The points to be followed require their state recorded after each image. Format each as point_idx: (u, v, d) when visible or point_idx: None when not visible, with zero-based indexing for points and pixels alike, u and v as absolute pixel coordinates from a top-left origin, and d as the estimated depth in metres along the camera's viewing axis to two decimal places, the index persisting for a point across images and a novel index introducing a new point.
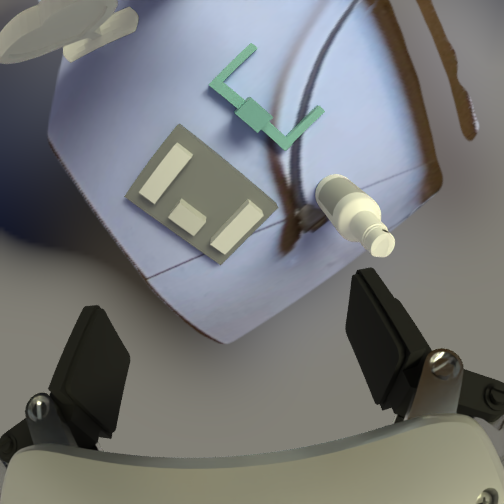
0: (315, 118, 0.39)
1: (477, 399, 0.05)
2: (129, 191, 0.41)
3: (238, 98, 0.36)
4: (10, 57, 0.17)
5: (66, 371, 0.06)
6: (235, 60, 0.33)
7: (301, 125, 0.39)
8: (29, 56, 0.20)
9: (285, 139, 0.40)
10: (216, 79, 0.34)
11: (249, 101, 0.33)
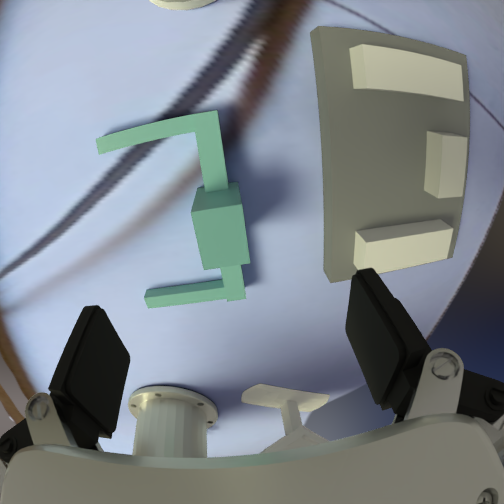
0: (119, 135, 0.17)
1: (477, 399, 0.05)
2: None
3: None
4: None
5: (67, 371, 0.06)
6: (185, 301, 0.24)
7: (152, 136, 0.17)
8: None
9: (199, 132, 0.17)
10: (230, 298, 0.24)
11: (211, 265, 0.18)
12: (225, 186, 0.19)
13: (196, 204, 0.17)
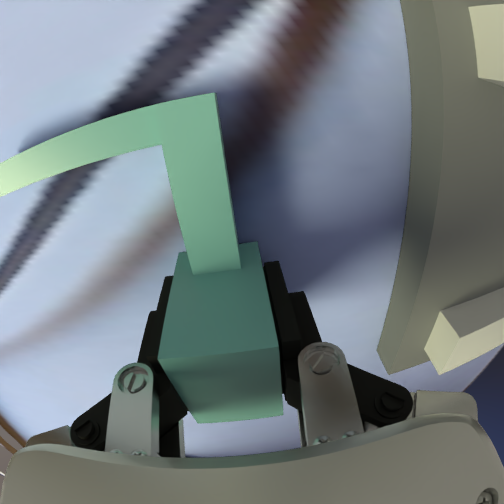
0: (20, 159, 0.07)
1: (364, 401, 0.06)
2: None
3: None
4: None
5: None
6: None
7: (75, 160, 0.07)
8: None
9: (172, 146, 0.07)
10: None
11: (210, 420, 0.09)
12: (234, 263, 0.09)
13: (171, 323, 0.08)
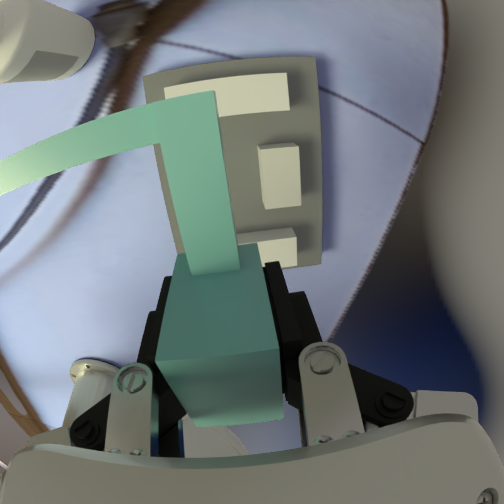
0: (18, 159, 0.07)
1: (364, 401, 0.06)
2: (309, 263, 0.29)
3: None
4: None
5: None
6: None
7: (73, 159, 0.07)
8: (238, 449, 0.32)
9: (170, 144, 0.07)
10: None
11: (210, 423, 0.08)
12: (233, 264, 0.09)
13: (169, 325, 0.07)
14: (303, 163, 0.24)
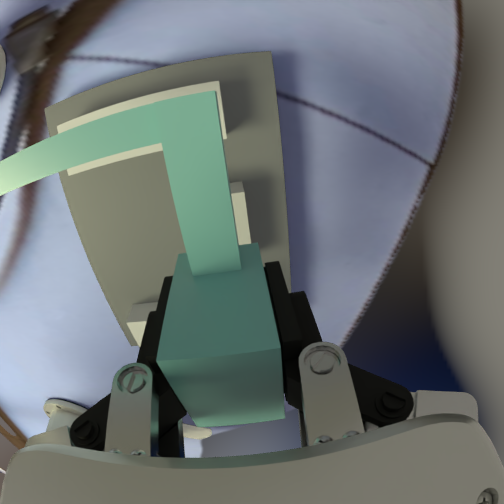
0: (19, 158, 0.07)
1: (364, 401, 0.06)
2: None
3: None
4: None
5: None
6: None
7: (74, 158, 0.07)
8: None
9: (172, 144, 0.07)
10: None
11: (211, 424, 0.08)
12: (234, 264, 0.09)
13: (170, 325, 0.07)
14: (259, 209, 0.17)
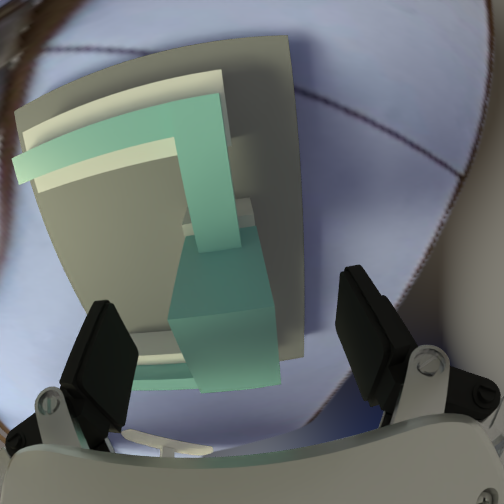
0: (43, 149, 0.08)
1: (464, 396, 0.05)
2: (286, 358, 0.20)
3: None
4: None
5: (78, 364, 0.07)
6: (176, 386, 0.16)
7: (95, 150, 0.09)
8: None
9: (183, 138, 0.08)
10: None
11: (213, 389, 0.10)
12: (235, 242, 0.10)
13: (179, 291, 0.09)
14: (270, 231, 0.14)
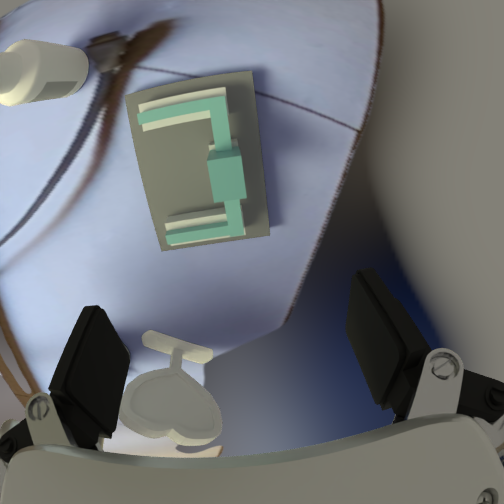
0: (154, 111, 0.24)
1: (477, 399, 0.05)
2: (260, 235, 0.36)
3: None
4: (213, 425, 0.37)
5: (67, 371, 0.06)
6: (197, 237, 0.32)
7: (179, 113, 0.25)
8: (210, 405, 0.40)
9: (212, 110, 0.25)
10: (232, 234, 0.32)
11: (219, 199, 0.26)
12: (230, 147, 0.27)
13: (210, 157, 0.25)
14: (246, 154, 0.31)
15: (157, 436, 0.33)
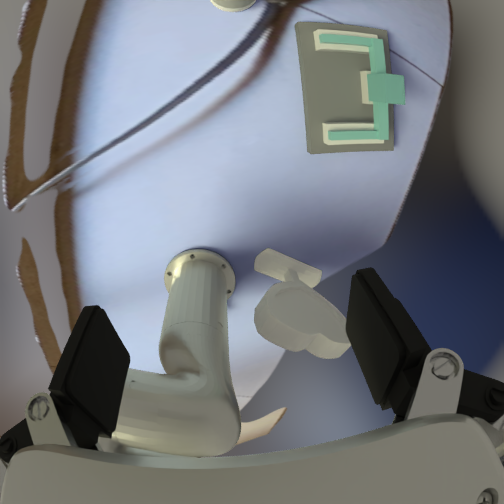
0: (335, 36, 0.27)
1: (477, 399, 0.05)
2: (387, 149, 0.39)
3: (380, 108, 0.32)
4: None
5: (66, 371, 0.06)
6: (355, 137, 0.35)
7: (352, 42, 0.28)
8: (339, 315, 0.43)
9: (375, 46, 0.28)
10: (380, 137, 0.35)
11: (389, 101, 0.29)
12: None
13: (381, 73, 0.28)
14: None
15: (301, 347, 0.36)
